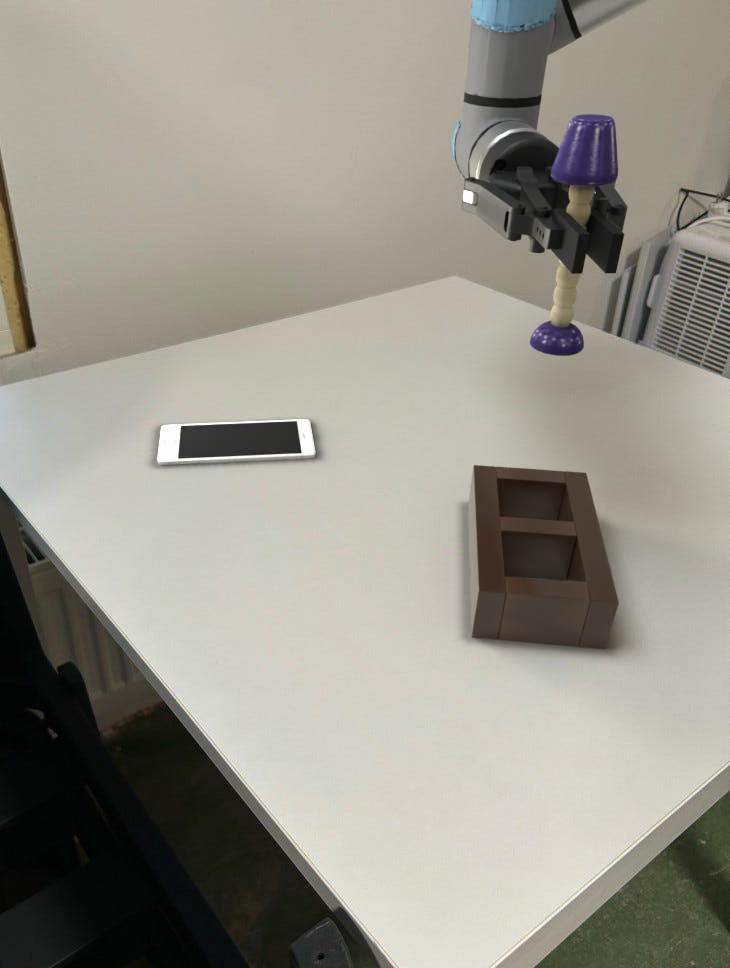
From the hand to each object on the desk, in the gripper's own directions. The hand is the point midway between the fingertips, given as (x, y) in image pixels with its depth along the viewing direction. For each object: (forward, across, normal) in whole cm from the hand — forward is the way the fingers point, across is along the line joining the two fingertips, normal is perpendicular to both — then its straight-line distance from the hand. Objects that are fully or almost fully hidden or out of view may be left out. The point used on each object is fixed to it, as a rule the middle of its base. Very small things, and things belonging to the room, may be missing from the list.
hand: (597, 253), depth 57 cm
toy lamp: (-6, 0, -9) cm, 11 cm away
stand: (+3, +2, -26) cm, 26 cm away
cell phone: (-20, +27, -26) cm, 42 cm away
